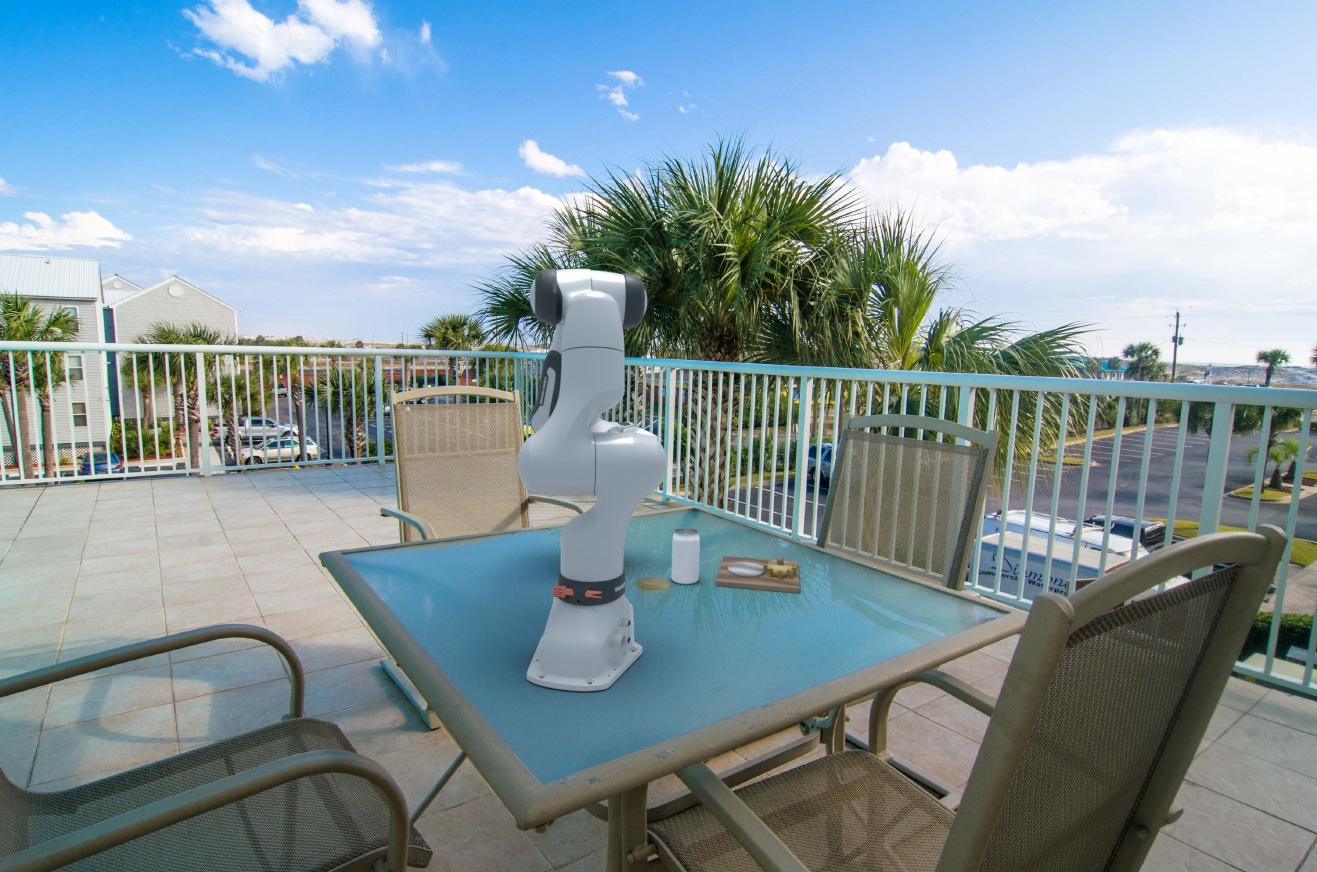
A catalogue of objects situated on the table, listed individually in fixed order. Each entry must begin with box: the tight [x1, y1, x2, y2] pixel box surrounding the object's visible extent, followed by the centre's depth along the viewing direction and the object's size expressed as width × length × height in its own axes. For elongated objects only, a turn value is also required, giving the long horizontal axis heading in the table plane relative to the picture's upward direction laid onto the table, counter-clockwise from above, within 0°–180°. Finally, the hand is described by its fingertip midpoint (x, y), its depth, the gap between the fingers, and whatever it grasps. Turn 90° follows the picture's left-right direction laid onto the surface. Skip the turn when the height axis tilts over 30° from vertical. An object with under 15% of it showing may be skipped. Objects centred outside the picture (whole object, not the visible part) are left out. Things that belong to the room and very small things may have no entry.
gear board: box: [715, 554, 801, 594], centre depth 157 cm, size 20×19×6 cm
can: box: [671, 527, 701, 586], centre depth 152 cm, size 6×6×12 cm
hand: (649, 461), depth 152 cm, fingers open, 8 cm apart
